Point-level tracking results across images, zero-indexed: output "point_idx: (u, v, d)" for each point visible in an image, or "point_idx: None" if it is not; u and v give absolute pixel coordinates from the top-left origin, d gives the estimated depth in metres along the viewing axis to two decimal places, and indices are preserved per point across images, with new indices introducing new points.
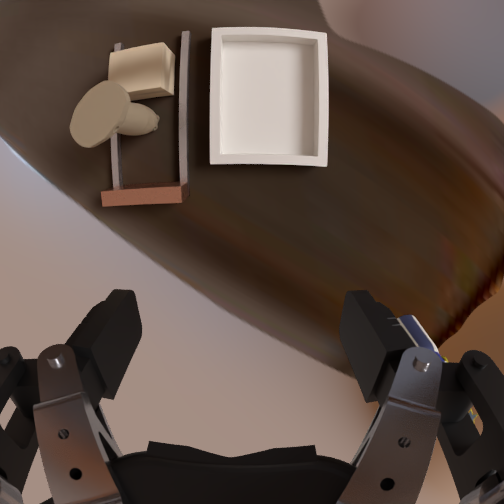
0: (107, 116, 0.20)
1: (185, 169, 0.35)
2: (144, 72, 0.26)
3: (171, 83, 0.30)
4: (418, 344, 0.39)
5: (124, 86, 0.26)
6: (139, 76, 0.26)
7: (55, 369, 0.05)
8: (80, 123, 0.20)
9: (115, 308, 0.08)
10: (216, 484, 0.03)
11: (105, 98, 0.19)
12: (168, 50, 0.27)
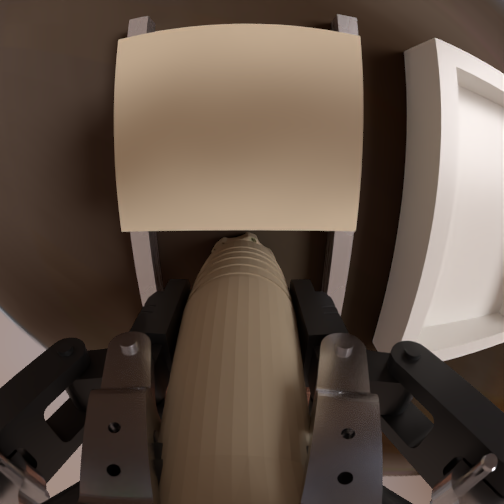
0: None
1: None
2: (288, 153, 0.07)
3: None
4: None
5: (194, 201, 0.08)
6: (266, 167, 0.07)
7: (133, 356, 0.06)
8: None
9: (178, 296, 0.09)
10: None
11: None
12: None
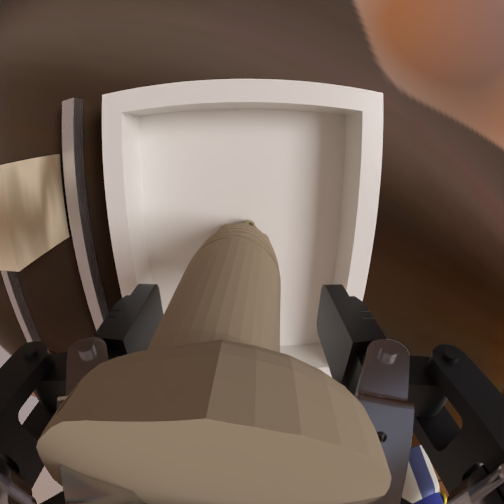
0: None
1: None
2: None
3: (55, 222, 0.15)
4: (418, 487, 0.24)
5: None
6: None
7: (88, 361, 0.06)
8: None
9: (143, 301, 0.09)
10: None
11: (241, 497, 0.02)
12: (28, 164, 0.12)
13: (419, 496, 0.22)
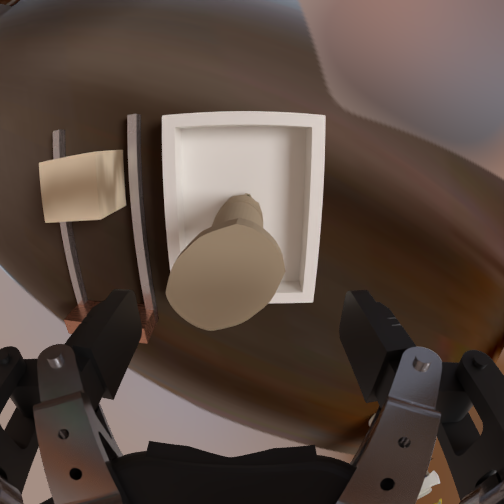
0: (247, 292, 0.14)
1: (149, 296, 0.30)
2: (79, 197, 0.21)
3: (119, 194, 0.26)
4: None
5: (60, 213, 0.22)
6: (74, 202, 0.21)
7: (55, 369, 0.05)
8: (188, 292, 0.14)
9: (115, 308, 0.08)
10: (216, 484, 0.03)
11: (241, 260, 0.13)
12: (108, 154, 0.22)
13: None
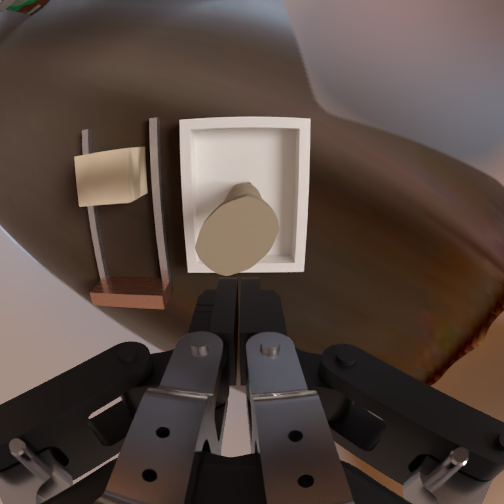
0: (253, 244, 0.20)
1: (165, 270, 0.37)
2: (111, 184, 0.28)
3: (143, 183, 0.32)
4: None
5: (94, 198, 0.28)
6: (107, 189, 0.28)
7: (208, 357, 0.06)
8: (212, 246, 0.20)
9: (234, 294, 0.09)
10: (216, 484, 0.03)
11: (250, 221, 0.20)
12: (134, 150, 0.29)
13: None
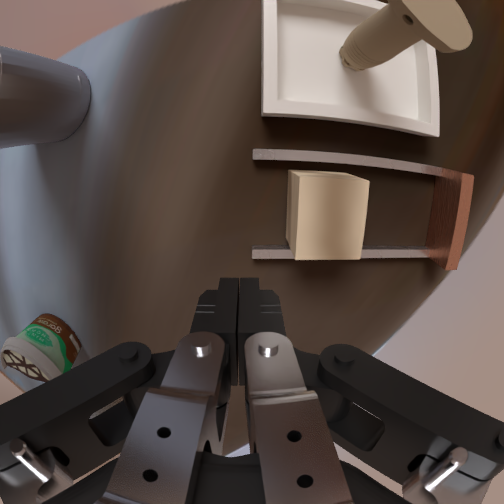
0: None
1: (431, 168, 0.26)
2: (344, 204, 0.22)
3: (336, 173, 0.26)
4: None
5: (355, 234, 0.23)
6: (348, 211, 0.22)
7: (210, 357, 0.06)
8: (446, 29, 0.09)
9: (235, 294, 0.09)
10: (216, 484, 0.03)
11: None
12: (298, 173, 0.24)
13: None
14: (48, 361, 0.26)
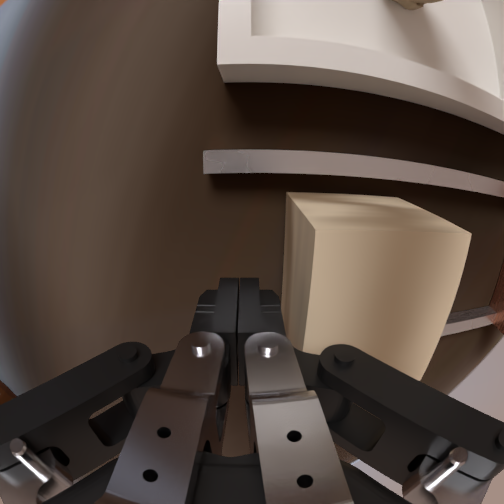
0: None
1: None
2: (415, 291, 0.08)
3: (385, 201, 0.12)
4: None
5: (423, 344, 0.09)
6: (420, 304, 0.09)
7: (210, 357, 0.06)
8: None
9: (235, 294, 0.09)
10: (216, 484, 0.03)
11: None
12: (308, 208, 0.10)
13: None
14: None
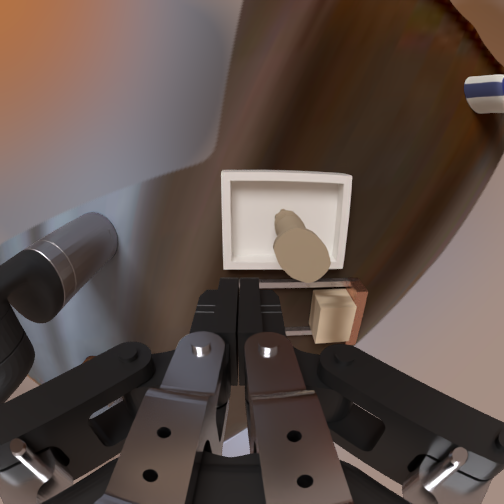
0: (308, 245, 0.28)
1: (339, 282, 0.46)
2: (342, 318, 0.43)
3: (340, 292, 0.46)
4: (494, 96, 0.27)
5: (346, 330, 0.44)
6: (343, 321, 0.43)
7: (210, 357, 0.06)
8: (307, 272, 0.29)
9: (235, 294, 0.09)
10: (216, 484, 0.03)
11: (291, 247, 0.28)
12: (319, 300, 0.44)
13: (501, 97, 0.26)
14: None
